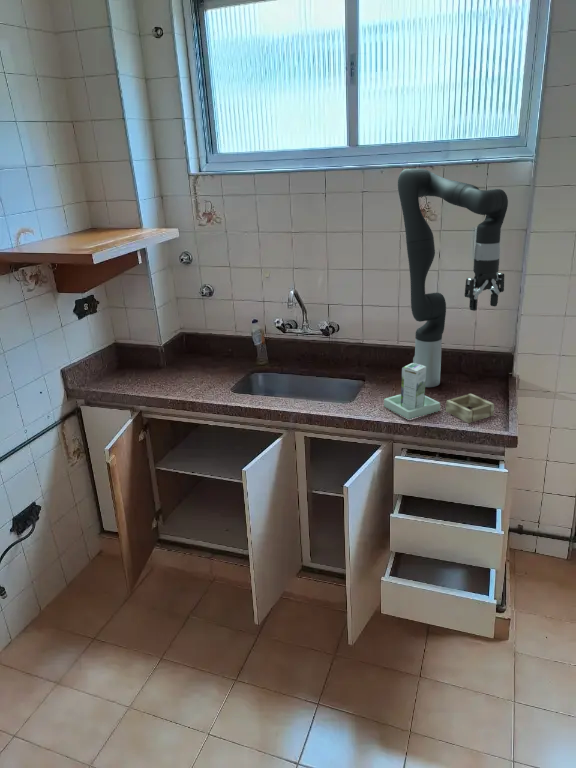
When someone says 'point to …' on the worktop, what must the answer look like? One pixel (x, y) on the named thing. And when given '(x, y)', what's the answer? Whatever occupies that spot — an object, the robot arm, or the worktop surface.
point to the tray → (428, 408)
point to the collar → (462, 412)
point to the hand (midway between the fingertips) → (483, 308)
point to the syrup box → (413, 386)
